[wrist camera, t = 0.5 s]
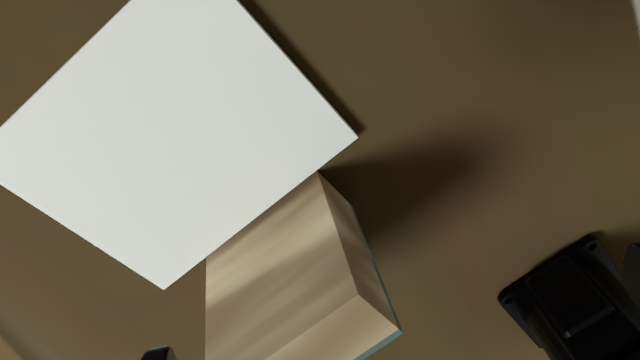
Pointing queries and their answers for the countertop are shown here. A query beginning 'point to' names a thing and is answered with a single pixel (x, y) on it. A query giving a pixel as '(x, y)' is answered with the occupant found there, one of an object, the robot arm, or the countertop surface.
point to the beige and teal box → (298, 284)
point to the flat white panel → (169, 134)
